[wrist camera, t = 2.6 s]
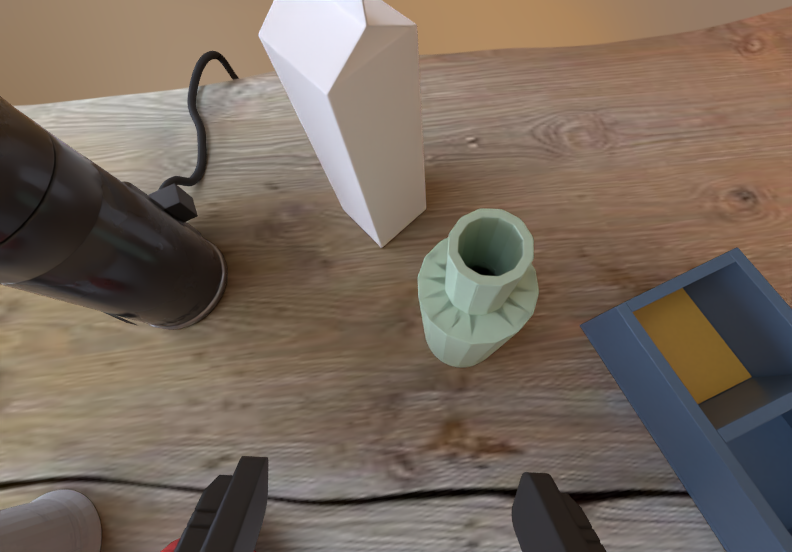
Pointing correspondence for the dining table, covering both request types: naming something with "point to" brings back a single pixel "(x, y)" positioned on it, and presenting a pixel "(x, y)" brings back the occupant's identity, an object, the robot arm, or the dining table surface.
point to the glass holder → (51, 524)
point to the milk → (356, 102)
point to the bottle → (477, 287)
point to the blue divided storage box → (713, 392)
